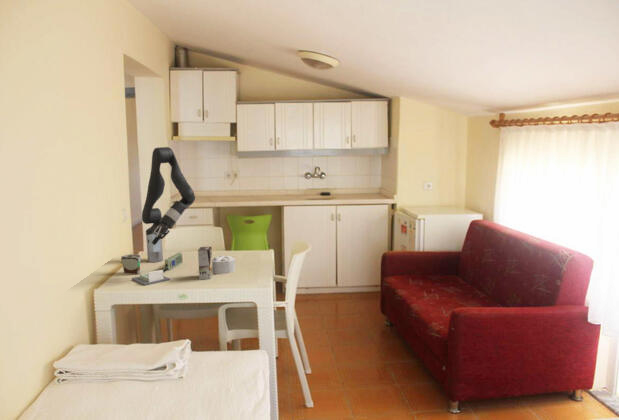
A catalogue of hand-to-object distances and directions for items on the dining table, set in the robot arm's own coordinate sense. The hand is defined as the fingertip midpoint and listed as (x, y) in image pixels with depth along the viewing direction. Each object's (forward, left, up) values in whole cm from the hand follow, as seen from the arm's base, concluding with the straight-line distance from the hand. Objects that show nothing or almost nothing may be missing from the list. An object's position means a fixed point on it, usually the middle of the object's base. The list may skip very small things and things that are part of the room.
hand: (151, 243), depth 260 cm
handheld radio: (-17, +20, -21) cm, 33 cm away
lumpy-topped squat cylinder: (+14, +36, -20) cm, 44 cm away
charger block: (0, +2, -5) cm, 5 cm away
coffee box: (+17, +22, -20) cm, 35 cm away
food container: (-22, -1, -20) cm, 30 cm away
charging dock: (0, -2, -20) cm, 20 cm away
